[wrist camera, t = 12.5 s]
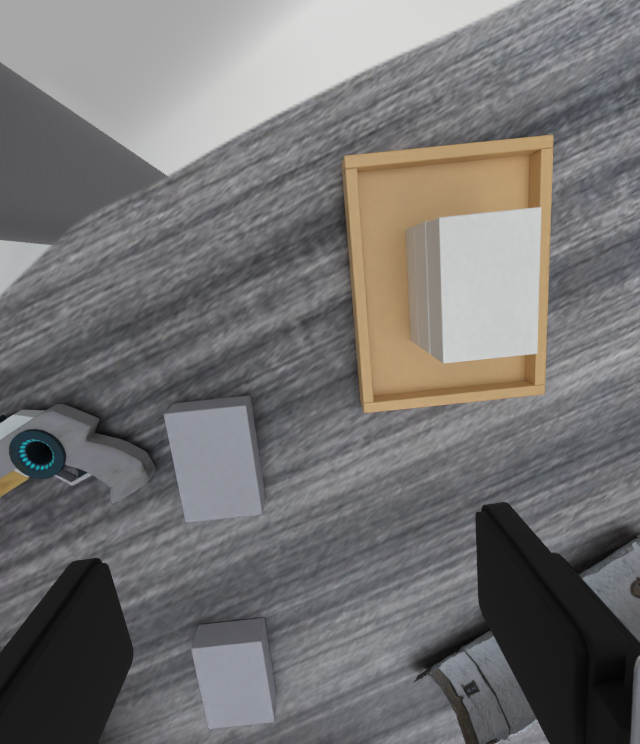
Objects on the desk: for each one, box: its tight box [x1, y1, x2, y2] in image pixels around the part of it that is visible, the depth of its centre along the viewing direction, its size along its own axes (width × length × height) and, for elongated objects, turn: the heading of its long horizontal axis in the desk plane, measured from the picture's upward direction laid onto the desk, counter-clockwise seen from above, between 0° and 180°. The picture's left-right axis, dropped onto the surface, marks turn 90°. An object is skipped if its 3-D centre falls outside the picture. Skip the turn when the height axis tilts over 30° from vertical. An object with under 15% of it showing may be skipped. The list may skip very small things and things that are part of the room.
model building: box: [413, 534, 640, 744], centre depth 36 cm, size 7×7×25 cm
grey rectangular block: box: [191, 618, 277, 729], centre depth 37 cm, size 9×6×2 cm, turn 6°
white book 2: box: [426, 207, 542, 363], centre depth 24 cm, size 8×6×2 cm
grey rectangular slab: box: [164, 395, 265, 523], centre depth 32 cm, size 9×6×2 cm, turn 6°
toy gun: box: [0, 404, 156, 504], centre depth 32 cm, size 3×17×10 cm
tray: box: [342, 135, 553, 413], centre depth 30 cm, size 18×14×2 cm
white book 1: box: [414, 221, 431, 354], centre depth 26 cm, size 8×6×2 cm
